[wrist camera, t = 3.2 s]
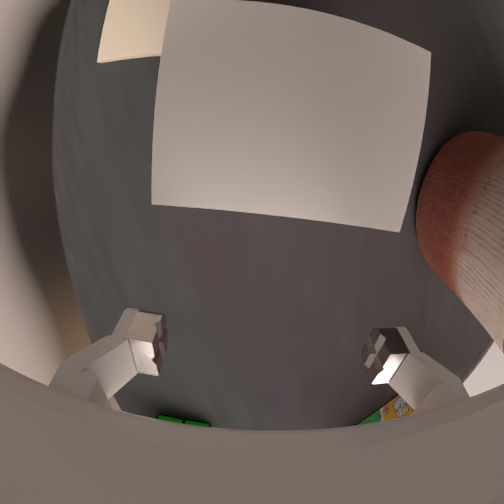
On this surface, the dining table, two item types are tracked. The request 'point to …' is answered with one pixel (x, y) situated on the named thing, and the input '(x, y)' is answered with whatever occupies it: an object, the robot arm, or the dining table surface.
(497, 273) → the planter
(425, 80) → the box
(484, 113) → the dining table surface
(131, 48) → the mat
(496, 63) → the dining table surface
